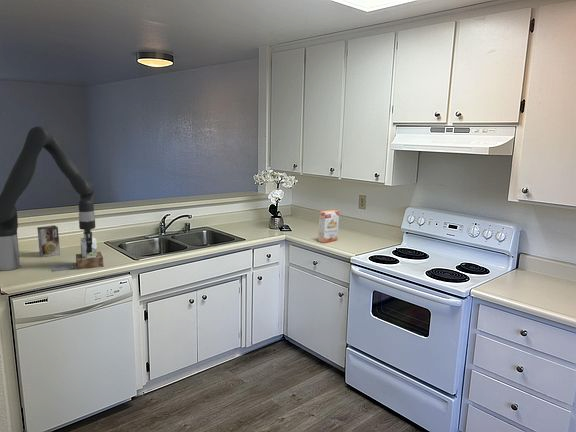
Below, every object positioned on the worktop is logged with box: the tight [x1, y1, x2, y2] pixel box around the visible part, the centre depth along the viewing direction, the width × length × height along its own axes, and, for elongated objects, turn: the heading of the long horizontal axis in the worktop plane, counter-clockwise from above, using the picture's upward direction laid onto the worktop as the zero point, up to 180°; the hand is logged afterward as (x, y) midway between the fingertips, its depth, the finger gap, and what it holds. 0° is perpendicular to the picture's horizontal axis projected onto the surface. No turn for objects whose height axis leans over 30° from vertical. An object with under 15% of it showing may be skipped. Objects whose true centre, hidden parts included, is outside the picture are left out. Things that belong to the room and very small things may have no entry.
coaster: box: [52, 263, 74, 273], centre depth 212 cm, size 9×9×1 cm
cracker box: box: [317, 209, 340, 244], centre depth 283 cm, size 14×6×21 cm, turn 131°
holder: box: [75, 251, 104, 270], centre depth 218 cm, size 12×12×5 cm
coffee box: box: [36, 224, 61, 258], centre depth 234 cm, size 9×6×16 cm
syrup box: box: [79, 236, 98, 258], centre depth 217 cm, size 6×6×14 cm
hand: (88, 250), depth 217 cm, fingers closed on syrup box, 7 cm apart
